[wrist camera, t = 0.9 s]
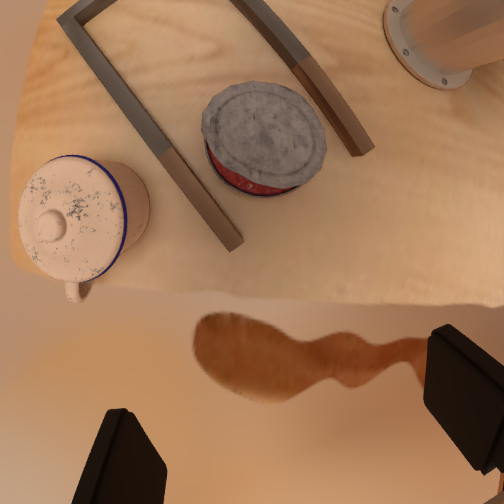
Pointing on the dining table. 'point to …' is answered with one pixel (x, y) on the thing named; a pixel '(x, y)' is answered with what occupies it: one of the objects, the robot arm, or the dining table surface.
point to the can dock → (72, 24)
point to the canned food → (263, 139)
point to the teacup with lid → (81, 219)
